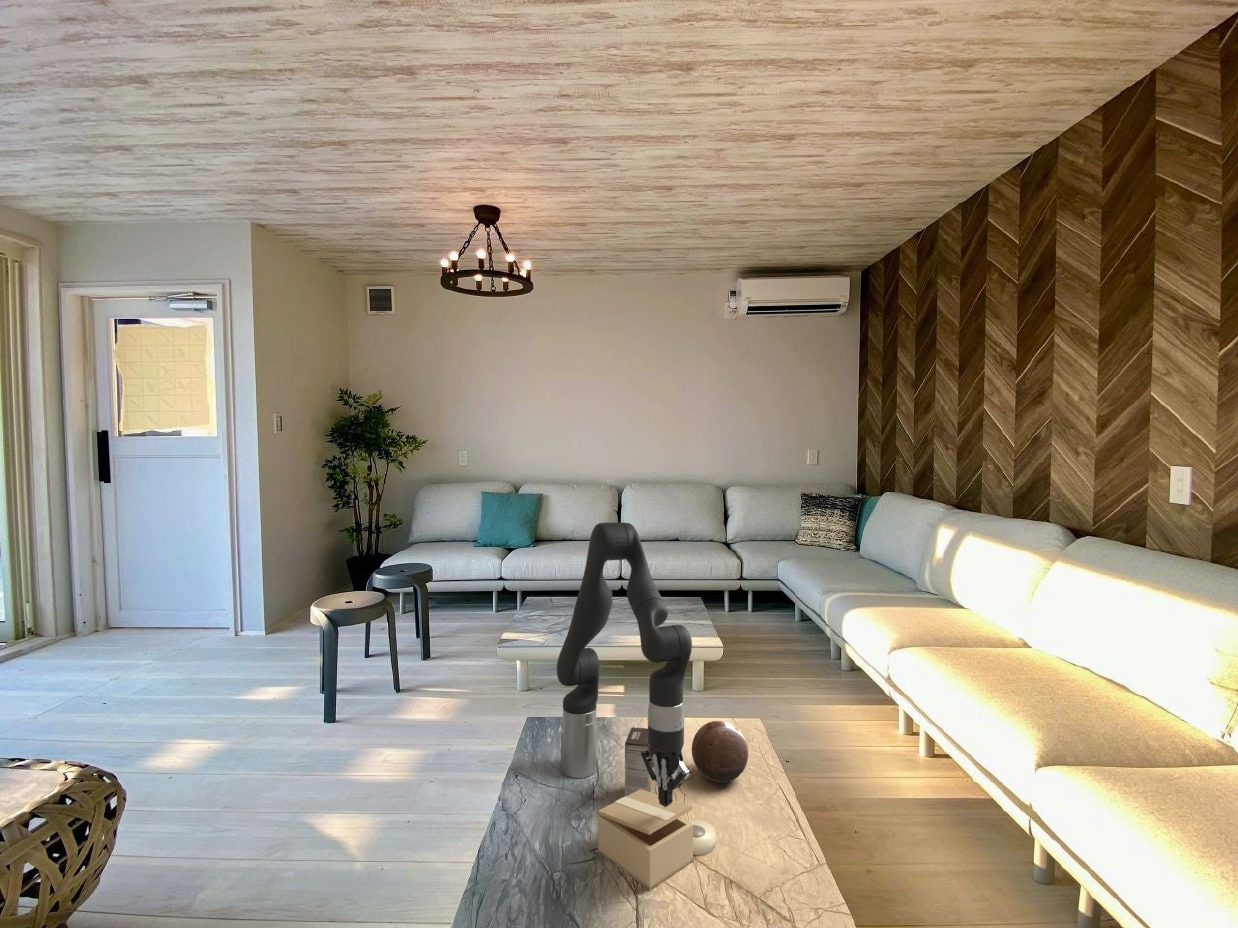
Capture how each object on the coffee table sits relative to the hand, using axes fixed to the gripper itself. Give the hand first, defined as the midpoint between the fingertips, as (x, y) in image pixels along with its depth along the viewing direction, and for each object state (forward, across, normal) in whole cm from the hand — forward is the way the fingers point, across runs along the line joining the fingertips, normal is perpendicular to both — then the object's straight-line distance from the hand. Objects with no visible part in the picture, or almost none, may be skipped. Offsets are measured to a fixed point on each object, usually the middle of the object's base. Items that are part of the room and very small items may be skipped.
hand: (665, 804), depth 127 cm
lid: (+4, -6, 0) cm, 8 cm away
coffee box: (+14, -23, +15) cm, 31 cm away
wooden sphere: (+14, -15, +37) cm, 43 cm away
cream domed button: (+14, -2, +12) cm, 19 cm away
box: (+14, -6, 0) cm, 15 cm away
